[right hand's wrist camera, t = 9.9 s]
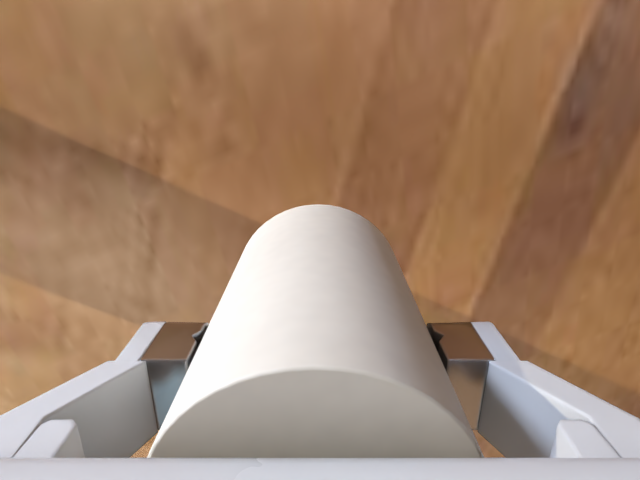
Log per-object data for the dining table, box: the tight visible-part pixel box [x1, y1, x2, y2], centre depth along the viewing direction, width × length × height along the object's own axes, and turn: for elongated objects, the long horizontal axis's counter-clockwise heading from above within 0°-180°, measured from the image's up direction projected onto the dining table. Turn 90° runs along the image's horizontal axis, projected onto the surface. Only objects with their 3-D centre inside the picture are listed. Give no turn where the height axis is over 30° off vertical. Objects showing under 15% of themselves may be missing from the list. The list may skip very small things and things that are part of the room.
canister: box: [147, 204, 484, 458], centre depth 10 cm, size 5×5×8 cm
